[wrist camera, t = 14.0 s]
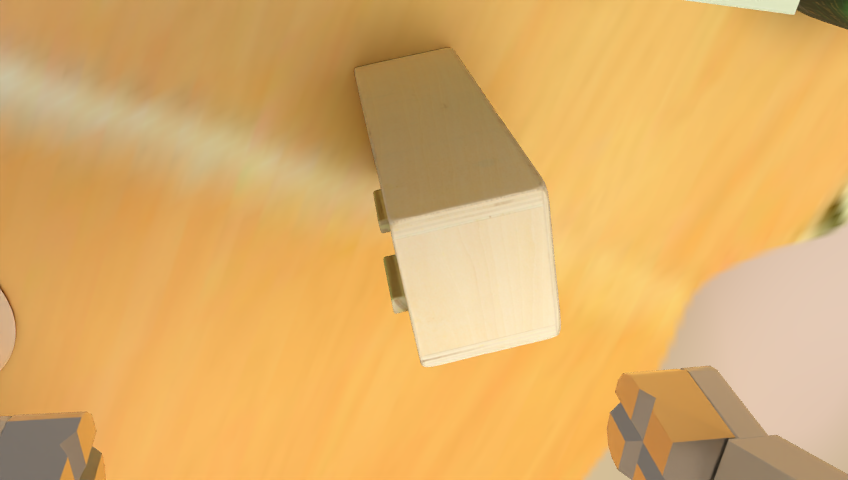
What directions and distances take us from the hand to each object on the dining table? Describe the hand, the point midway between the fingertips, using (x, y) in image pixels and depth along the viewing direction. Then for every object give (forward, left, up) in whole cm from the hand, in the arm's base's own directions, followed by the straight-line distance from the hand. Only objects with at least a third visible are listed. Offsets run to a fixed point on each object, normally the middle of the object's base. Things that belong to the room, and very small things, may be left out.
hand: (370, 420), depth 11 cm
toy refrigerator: (+7, -8, -37) cm, 39 cm away
